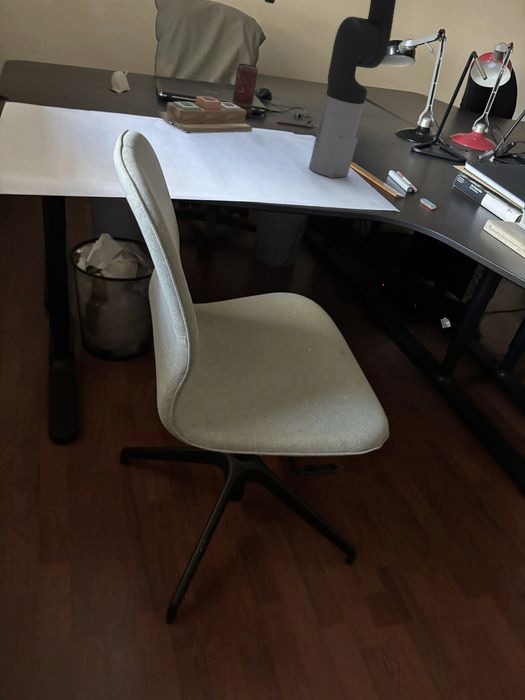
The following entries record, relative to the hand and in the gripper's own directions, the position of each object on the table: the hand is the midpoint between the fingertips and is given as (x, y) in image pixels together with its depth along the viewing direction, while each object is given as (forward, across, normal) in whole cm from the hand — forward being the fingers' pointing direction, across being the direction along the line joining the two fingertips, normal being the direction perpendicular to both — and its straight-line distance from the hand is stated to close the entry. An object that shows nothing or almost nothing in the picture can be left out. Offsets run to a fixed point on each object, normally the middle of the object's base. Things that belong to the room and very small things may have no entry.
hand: (269, 2), depth 133 cm
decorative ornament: (+31, +38, +21) cm, 53 cm away
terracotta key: (+27, +4, +12) cm, 30 cm away
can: (+31, +11, -6) cm, 33 cm away
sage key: (+28, +5, +19) cm, 35 cm away
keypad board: (+31, +4, +12) cm, 34 cm away
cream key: (+28, +4, +5) cm, 29 cm away
